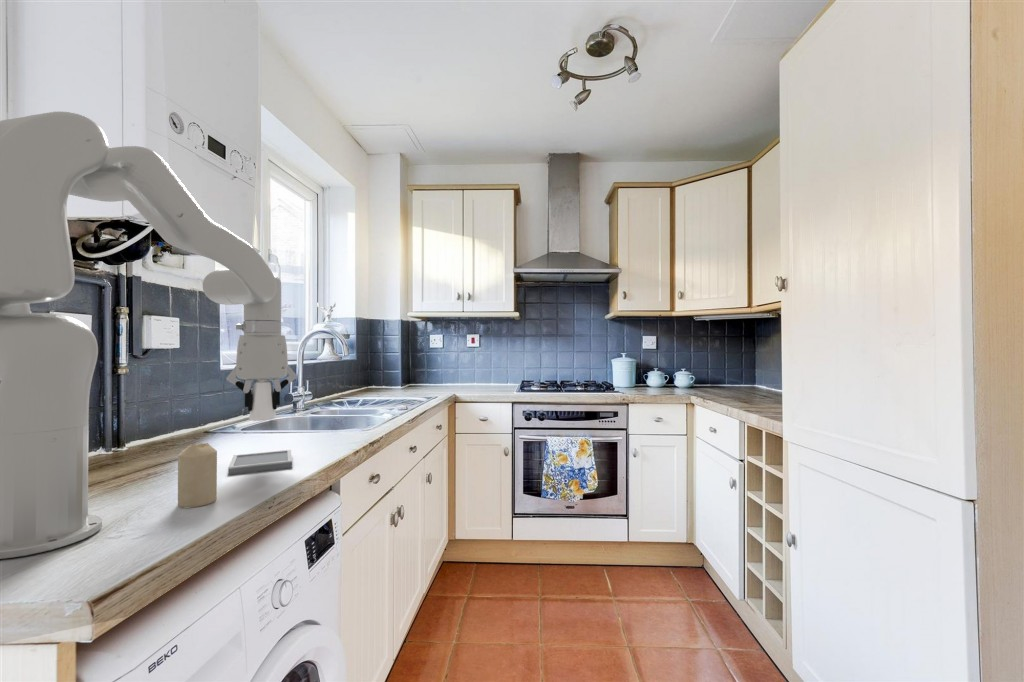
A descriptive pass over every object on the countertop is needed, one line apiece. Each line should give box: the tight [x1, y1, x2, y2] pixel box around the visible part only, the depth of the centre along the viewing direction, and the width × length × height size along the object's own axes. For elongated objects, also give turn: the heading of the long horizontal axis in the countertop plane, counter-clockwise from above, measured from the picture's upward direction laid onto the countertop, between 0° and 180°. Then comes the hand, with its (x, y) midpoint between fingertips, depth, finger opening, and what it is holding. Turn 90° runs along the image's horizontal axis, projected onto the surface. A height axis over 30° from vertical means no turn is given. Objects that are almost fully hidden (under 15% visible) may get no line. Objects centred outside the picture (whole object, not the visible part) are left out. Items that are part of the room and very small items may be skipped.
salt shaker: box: [248, 379, 277, 422], centre depth 103 cm, size 5×5×11 cm
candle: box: [177, 442, 218, 509], centre depth 78 cm, size 6×6×10 cm
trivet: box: [227, 449, 293, 476], centre depth 102 cm, size 12×12×2 cm
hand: (262, 408), depth 103 cm, fingers closed on salt shaker, 4 cm apart
